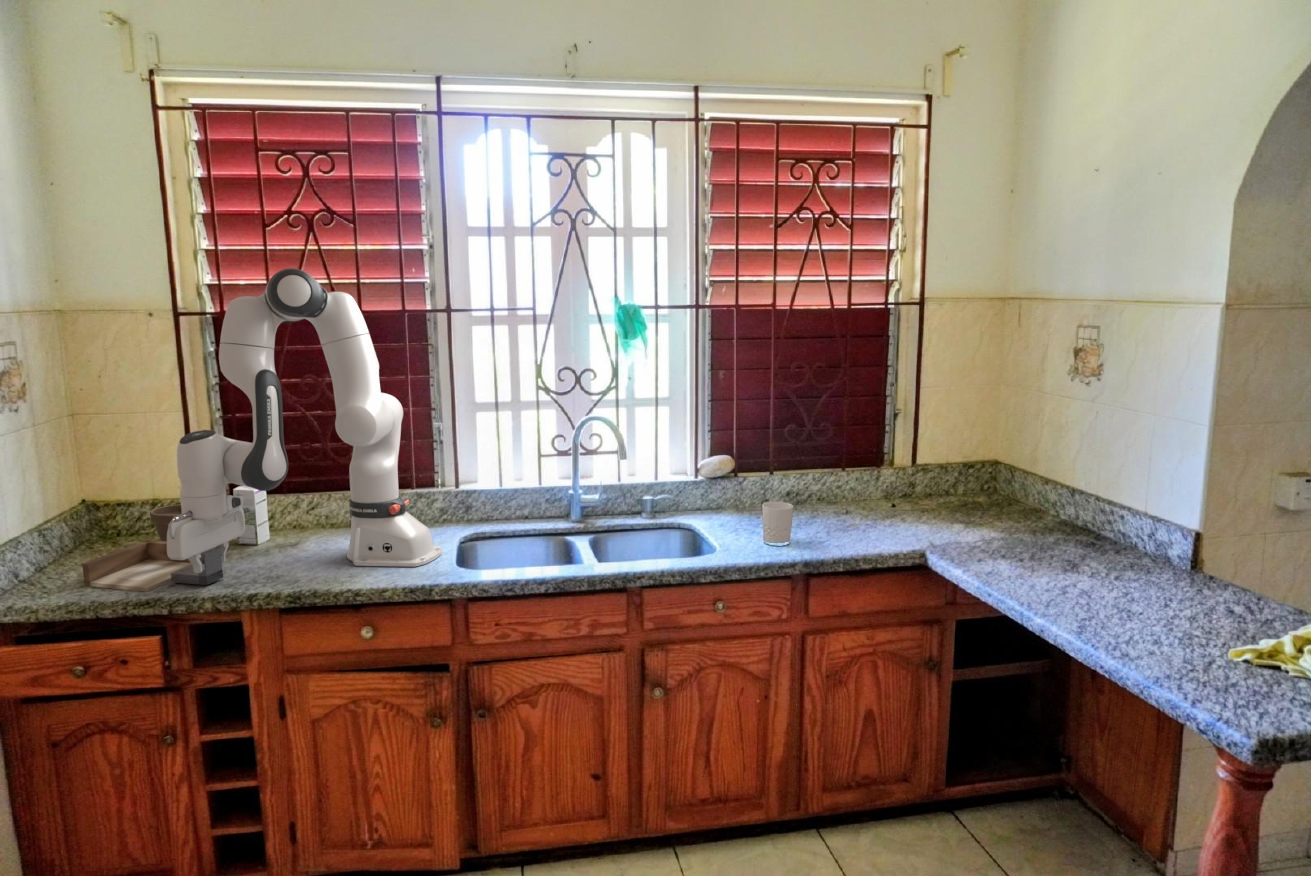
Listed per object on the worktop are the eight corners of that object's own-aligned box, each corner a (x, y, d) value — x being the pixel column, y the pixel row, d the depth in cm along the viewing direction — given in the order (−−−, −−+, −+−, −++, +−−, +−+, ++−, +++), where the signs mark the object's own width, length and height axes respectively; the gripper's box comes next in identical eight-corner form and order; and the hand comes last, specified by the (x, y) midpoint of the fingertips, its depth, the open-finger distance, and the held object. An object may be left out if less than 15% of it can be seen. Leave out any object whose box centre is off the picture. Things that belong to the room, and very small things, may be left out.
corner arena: (207, 565, 202) (205, 544, 201) (147, 591, 185) (145, 569, 184) (149, 560, 206) (147, 540, 205) (84, 585, 188) (82, 563, 188)
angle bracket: (223, 577, 193) (220, 547, 192) (207, 585, 188) (204, 554, 187) (188, 574, 195) (185, 544, 193) (171, 582, 190) (168, 551, 189)
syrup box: (270, 538, 224) (266, 484, 221) (258, 545, 218) (253, 489, 215) (249, 538, 224) (245, 483, 222) (236, 544, 218) (232, 488, 216)
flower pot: (209, 539, 222) (206, 501, 221) (202, 552, 212) (198, 512, 210) (159, 543, 219) (155, 505, 217) (148, 557, 208) (144, 516, 206)
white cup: (796, 541, 224) (798, 504, 223) (784, 549, 218) (785, 510, 216) (769, 536, 229) (770, 500, 227) (755, 544, 222) (757, 506, 220)
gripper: (181, 519, 177) (188, 584, 179) (248, 495, 197) (252, 554, 199) (155, 517, 178) (161, 582, 181) (223, 494, 198) (228, 552, 200)
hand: (210, 567), depth 190 cm, fingers closed on angle bracket, 5 cm apart
